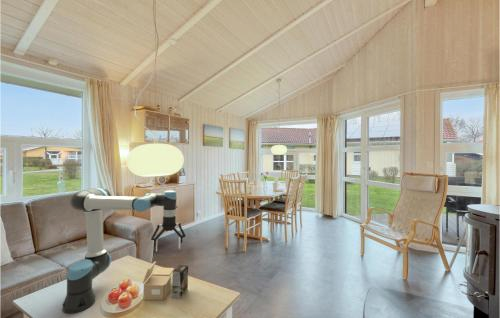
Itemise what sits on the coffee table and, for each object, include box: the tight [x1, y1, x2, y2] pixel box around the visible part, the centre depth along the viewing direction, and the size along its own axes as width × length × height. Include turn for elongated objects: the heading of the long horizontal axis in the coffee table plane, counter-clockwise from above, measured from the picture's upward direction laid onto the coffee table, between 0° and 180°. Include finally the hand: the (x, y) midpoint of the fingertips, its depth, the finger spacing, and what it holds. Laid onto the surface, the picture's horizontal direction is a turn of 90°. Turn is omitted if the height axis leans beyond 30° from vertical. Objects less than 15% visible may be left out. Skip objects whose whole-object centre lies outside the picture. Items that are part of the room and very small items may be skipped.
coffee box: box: [171, 264, 189, 300], centre depth 142 cm, size 9×6×16 cm
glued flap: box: [142, 261, 157, 284], centre depth 141 cm, size 1×10×9 cm, turn 1°
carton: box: [143, 267, 175, 301], centre depth 146 cm, size 13×20×10 cm, turn 0°
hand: (168, 249), depth 142 cm, fingers open, 13 cm apart
